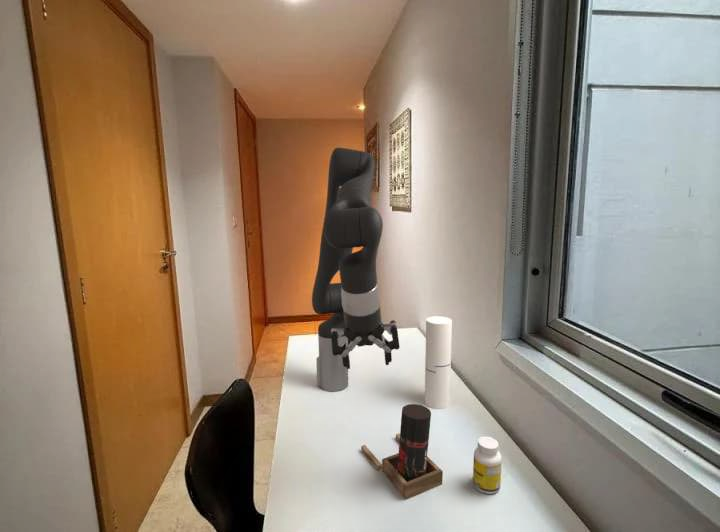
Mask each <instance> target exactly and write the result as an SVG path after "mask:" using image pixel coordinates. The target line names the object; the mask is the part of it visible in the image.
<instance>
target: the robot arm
mask: <svg viewBox="0 0 720 532" xmlns="http://www.w3.org/2000/svg"><path fill="white" fill-rule="evenodd" d="M331 152H332V153H331V155H330V159H329V165H328V177H327V178H328V179H327V192H326V205H325V212H324V219H323V225H322V228H321V229H322V231H321V236H320V237H321V238H320V246H319V254H318V255H319V256H318V266H317V271H316V275H315V279H314V285H313V288H312V294H311V306H312V309H313V311H314V312H315V313H316V314H318V315H328V314H332V316H330V317H329V318H328V319H326V320H324V321H322V322H321V323H320V324H319V325H318V327H317V332H318V333H317V334H318V335H317V336H318V342H317V343H318V357H316V383H317V385H316V386H317V387H319V388H321V389H322V390H324V391H326V392H327V391H328V392H338V391H343V390H345V389H346V388H348V386H349V370H350V369H351V361H350V354H349V353H350V352H353V350H354V349H355V348H356V346H357V347H358V348H360V347H364V346H365V347H366V346H373V345H374V344H375V345H376V346H377V347H378V348H379V349H382V350H383V352H384V353H383V354H384V363H385V366H389V365H390V363H392V361H393V357H392V351H394V350H397V351H398V350H399V349H400V348H401V347H400V341H399V333H398V326H397V321H396V320H394V319H392V320H391V321H390V322H389V323H385V324H384V323H383V322H382V313H381V312H382V311H381V297H380V290H379V286H378V279H377V278H378V277H377V276H378V275H377V257H378V249H379V246H380V242H381V238H382V236H383V235H382V234H383V226H384V224H383V218H382V216H381V213H380V212H379V211H378V210H377V209H376V208H374V207H372V204H371V203H372V202H371V201H372V200H371V194H372V193H371V192H372V189H373V184H374V177H375V169H376V167H375V165H376V164H375V158H374V156H373V154H371V153H369V152H367V151H364V150H358V149H351V148H345V147H336V148H334V149H333V151H331ZM354 248H361V249H359V250H358V251H355V252H353V251H354V250H353V249H354ZM338 272H339V277H340V278H339V279H340V282H335V283H331V282H332V280H333V278H334V277H335V275H336V274H337V273H338ZM384 332H387V333H388V335H390V336H391V338H392V340H390V341H389V340H388V339H387V338H386V337H385V336H384Z"/></svg>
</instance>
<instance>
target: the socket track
mask: <svg viewBox="0 0 720 532" xmlns="http://www.w3.org/2000/svg"><path fill="white" fill-rule="evenodd" d="M395 440H396V441H397V442H398V443H399V442H400V433H396V434H395ZM360 449H361V452H362V454H363V455H364V456H365V457H366V459H368V460H369V462H370V463H371V465H372V466H373V467H374V468H375V470H377V472H380V471H381V472H382V473H383V474H384V475H385V477H386V478H387V479H388V480H389V482H390V483H391V484H392V485H393V486H394V488H395V489H396V490H397V491H398V492H399V494H400V495H401V496H402V497H403V498H404V500H409V499H411V498H413V497H415V496H418V495H420V494H422V493H424V492H427V491H430V490H431V489H434V488H436V487H439V486H441V485H443V474H444V473H443V472H444V471H443V470H442V469H441V468H440V467H439V466H438V465H437V464H436V463H435V462H434V461H433V460H432V459H431V458H430V457H429V456H427V463H426V474H425V475H423V476H421V477H418V478H416V479H413V480H411V481H408V482H406V481H405V479H404V478H403V477H402V476H401V475H400V474H399V473H398V472H397V467H398V454H399V452H398V453H395V454H393V455H389V456H387V457H383V458H382V459H381V462H382V463H381V462H380V460H379V459H378V458H377V457H376V456H375V455H374V454H373V453H372V451H371V450H370V448H368V447H367V445H366V444H364V445H361V447H360Z"/></svg>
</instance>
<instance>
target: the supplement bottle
mask: <svg viewBox="0 0 720 532" xmlns="http://www.w3.org/2000/svg"><path fill="white" fill-rule="evenodd" d="M499 445H500V444H499V442H498V441H497V440H496V439H494V437H490V436H480V437H479V438H478V439H477V447H476V448H475V449H474V452H473V466H472V467H473V468H472V470H473V473H472V483H473V486H474V487H475V488H476V489H477V490H478V491H480V492H481V493H484V494H488V495H493V494H496V493H498V492H500V489H501V482H502V481H501V480H502V462H503V461H502V459H503V458H502V453H501V452H500V451H499Z"/></svg>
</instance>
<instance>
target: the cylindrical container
mask: <svg viewBox="0 0 720 532" xmlns="http://www.w3.org/2000/svg"><path fill="white" fill-rule="evenodd" d="M425 319H426V320H425V359H424V361H425V362H424V363H425V364H424V365H425V366H424V368H425V369H424V373H425V374H424V403H425V405H426V406H427V407H429V408H432V409H435V410H442V409H446V408H448V407H449V406H450V404H451V402H450V401H451V371H452V369H451V368H452V367H451V366H452V364H451V363H452V336H453V334H452V333H453V332H452V331H453V320H452V319H451V318H449V317H447V316H441V315H439V316H438V315H437V316H433V315H432V316H428V317H427V318H425Z"/></svg>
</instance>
